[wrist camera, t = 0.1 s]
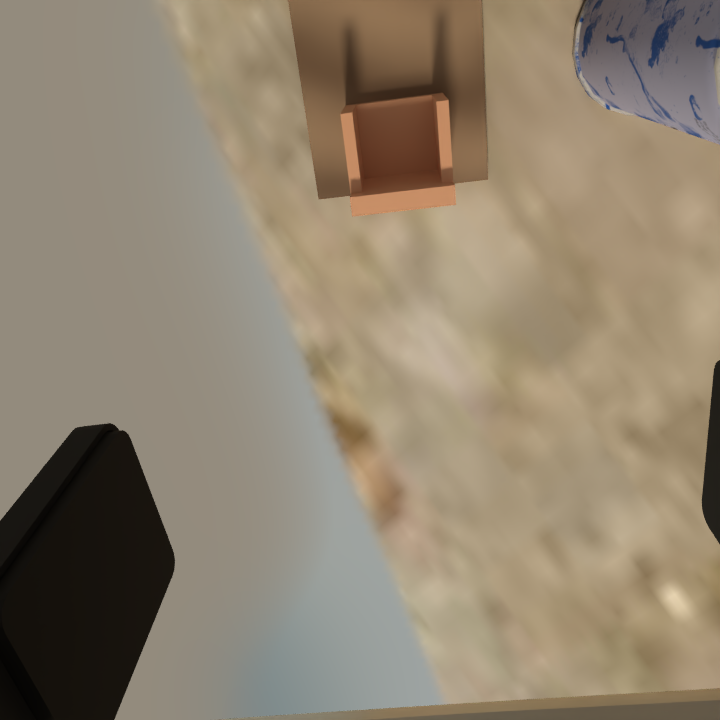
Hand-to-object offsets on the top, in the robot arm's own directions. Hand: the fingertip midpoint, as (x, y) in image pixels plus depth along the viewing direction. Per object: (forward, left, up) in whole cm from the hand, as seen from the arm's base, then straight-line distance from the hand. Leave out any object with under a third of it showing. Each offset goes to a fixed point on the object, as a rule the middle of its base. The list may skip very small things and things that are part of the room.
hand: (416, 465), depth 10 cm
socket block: (0, 0, -30) cm, 30 cm away
